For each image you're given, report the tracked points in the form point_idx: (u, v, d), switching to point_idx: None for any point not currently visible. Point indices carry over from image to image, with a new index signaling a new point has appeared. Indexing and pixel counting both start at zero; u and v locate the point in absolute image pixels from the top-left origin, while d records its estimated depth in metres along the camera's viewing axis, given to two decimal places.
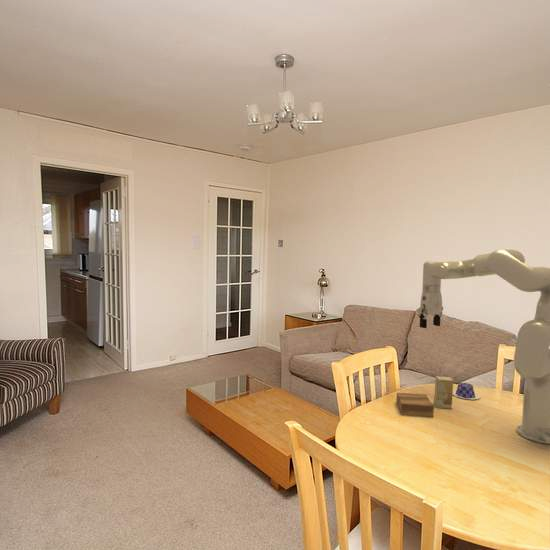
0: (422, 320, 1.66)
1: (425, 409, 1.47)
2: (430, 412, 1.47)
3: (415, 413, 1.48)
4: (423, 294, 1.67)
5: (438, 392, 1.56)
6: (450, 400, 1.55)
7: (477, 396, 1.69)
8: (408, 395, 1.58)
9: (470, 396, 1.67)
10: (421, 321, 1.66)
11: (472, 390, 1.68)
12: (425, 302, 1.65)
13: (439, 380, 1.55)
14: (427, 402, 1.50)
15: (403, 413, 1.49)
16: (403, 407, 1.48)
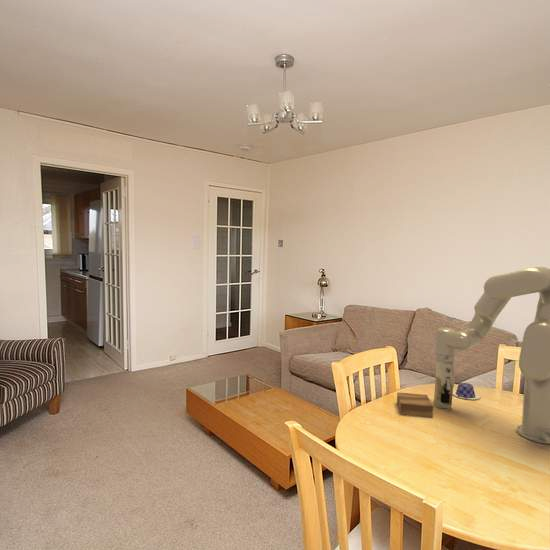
0: (446, 395, 1.54)
1: (424, 409, 1.47)
2: (429, 412, 1.47)
3: (414, 413, 1.48)
4: (446, 366, 1.52)
5: (438, 392, 1.56)
6: (450, 400, 1.55)
7: (477, 396, 1.69)
8: (409, 395, 1.58)
9: (471, 396, 1.67)
10: (445, 396, 1.54)
11: (472, 390, 1.68)
12: (450, 374, 1.52)
13: (439, 380, 1.55)
14: (427, 403, 1.49)
15: (402, 413, 1.49)
16: (402, 407, 1.49)
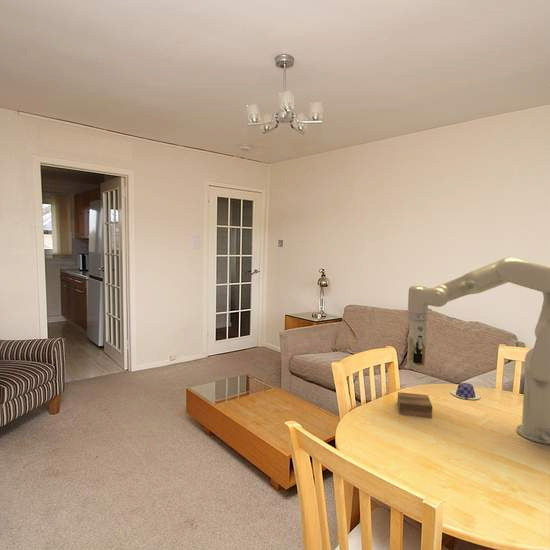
0: (419, 355, 1.49)
1: (423, 410, 1.47)
2: (428, 412, 1.47)
3: (413, 413, 1.48)
4: (418, 324, 1.47)
5: (410, 352, 1.51)
6: (423, 360, 1.50)
7: (477, 395, 1.70)
8: (409, 395, 1.58)
9: (472, 396, 1.67)
10: (417, 356, 1.49)
11: (473, 390, 1.68)
12: (422, 333, 1.47)
13: (411, 340, 1.50)
14: (427, 403, 1.49)
15: (401, 412, 1.49)
16: (401, 406, 1.49)
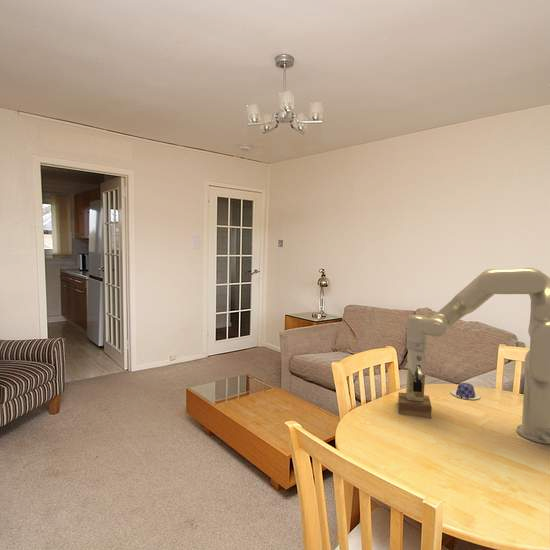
0: (418, 384, 1.48)
1: (423, 410, 1.47)
2: (428, 412, 1.46)
3: (412, 413, 1.48)
4: (416, 353, 1.48)
5: (410, 384, 1.51)
6: (422, 392, 1.51)
7: (476, 395, 1.70)
8: None
9: (472, 396, 1.67)
10: (417, 385, 1.48)
11: (473, 389, 1.69)
12: (421, 362, 1.47)
13: None
14: (426, 403, 1.49)
15: (400, 412, 1.50)
16: (400, 406, 1.49)
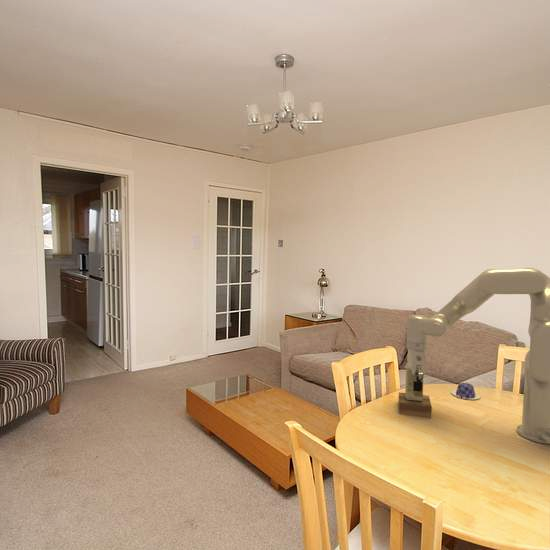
0: (419, 383, 1.47)
1: (423, 410, 1.47)
2: (428, 412, 1.47)
3: (412, 413, 1.48)
4: (416, 353, 1.48)
5: (408, 383, 1.52)
6: (421, 392, 1.51)
7: (476, 395, 1.71)
8: None
9: (473, 396, 1.67)
10: (417, 384, 1.47)
11: (473, 389, 1.69)
12: (421, 362, 1.47)
13: (409, 371, 1.52)
14: (426, 403, 1.49)
15: (400, 412, 1.50)
16: (400, 406, 1.49)
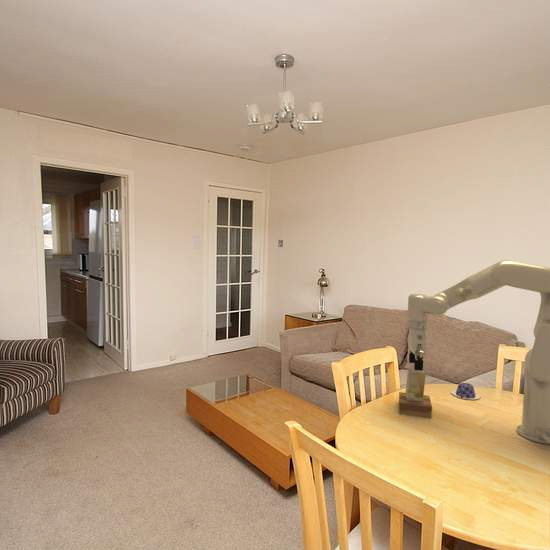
0: (420, 362, 1.47)
1: (423, 410, 1.47)
2: (428, 412, 1.47)
3: (412, 413, 1.48)
4: (417, 332, 1.47)
5: (410, 385, 1.50)
6: (422, 393, 1.50)
7: (476, 394, 1.71)
8: None
9: (473, 396, 1.67)
10: (418, 363, 1.47)
11: (473, 389, 1.69)
12: (421, 341, 1.47)
13: (411, 373, 1.50)
14: (427, 403, 1.49)
15: (401, 412, 1.50)
16: (401, 406, 1.50)
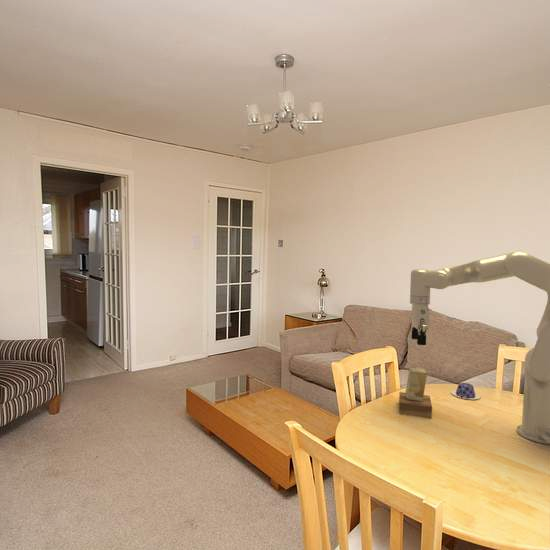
0: (423, 337, 1.46)
1: (423, 410, 1.47)
2: (428, 412, 1.47)
3: (412, 413, 1.48)
4: (420, 307, 1.47)
5: (411, 384, 1.51)
6: (422, 392, 1.51)
7: (475, 394, 1.71)
8: None
9: (473, 396, 1.67)
10: (421, 338, 1.46)
11: (473, 389, 1.69)
12: (424, 316, 1.46)
13: (413, 372, 1.50)
14: (427, 403, 1.49)
15: (401, 412, 1.50)
16: (401, 406, 1.50)
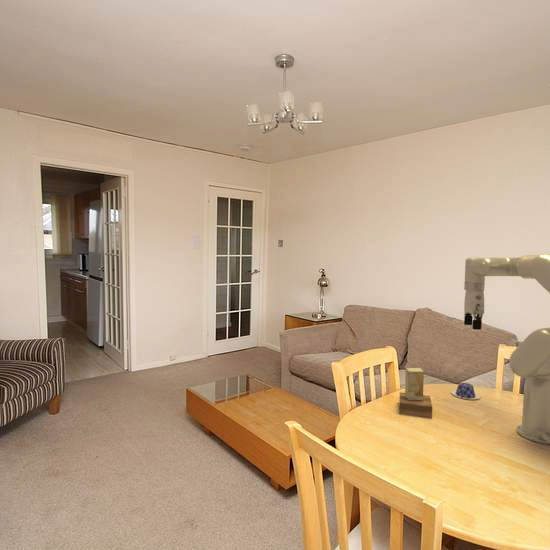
0: (478, 321, 1.53)
1: (423, 410, 1.47)
2: (428, 412, 1.46)
3: (413, 413, 1.48)
4: (476, 293, 1.54)
5: (409, 384, 1.51)
6: (421, 391, 1.51)
7: (475, 394, 1.71)
8: None
9: (473, 395, 1.67)
10: (477, 323, 1.53)
11: (473, 389, 1.69)
12: (480, 302, 1.53)
13: (410, 372, 1.51)
14: (427, 403, 1.49)
15: (401, 412, 1.50)
16: (401, 406, 1.49)
